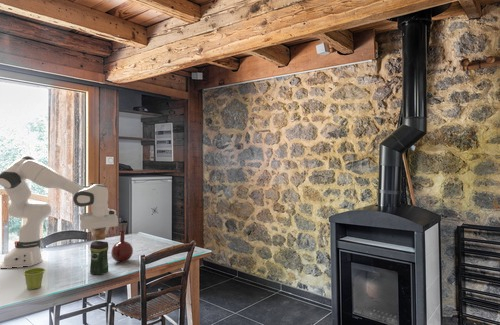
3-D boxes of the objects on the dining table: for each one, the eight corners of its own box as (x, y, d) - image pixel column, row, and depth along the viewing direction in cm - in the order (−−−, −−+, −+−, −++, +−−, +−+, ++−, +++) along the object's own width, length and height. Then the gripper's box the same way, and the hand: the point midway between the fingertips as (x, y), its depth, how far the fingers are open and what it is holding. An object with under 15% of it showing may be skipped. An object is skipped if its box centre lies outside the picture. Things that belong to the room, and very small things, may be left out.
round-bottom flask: (137, 260, 218) (137, 230, 217) (122, 266, 206) (122, 234, 205) (121, 257, 223) (122, 228, 222) (106, 263, 211) (106, 232, 210)
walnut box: (95, 240, 190) (95, 229, 189) (93, 238, 194) (94, 228, 194) (105, 239, 192) (105, 228, 192) (103, 237, 197) (103, 227, 197)
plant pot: (48, 283, 176) (48, 267, 176) (37, 291, 166) (38, 274, 166) (30, 283, 175) (30, 267, 175) (19, 291, 166) (19, 273, 166)
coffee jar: (110, 271, 196) (111, 240, 196) (101, 276, 188) (101, 243, 188) (97, 269, 199) (97, 239, 199) (87, 274, 191) (87, 242, 191)
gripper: (80, 214, 185) (80, 238, 185) (119, 211, 196) (118, 234, 196) (79, 212, 190) (79, 236, 190) (116, 209, 201) (116, 232, 201)
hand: (99, 235), depth 193 cm, fingers closed on walnut box, 5 cm apart
